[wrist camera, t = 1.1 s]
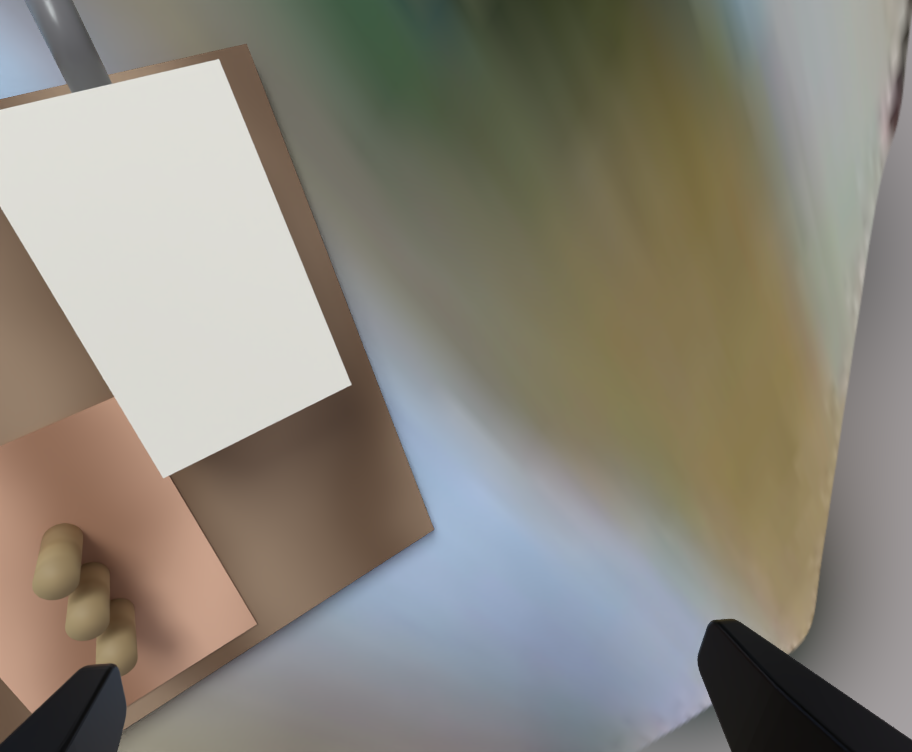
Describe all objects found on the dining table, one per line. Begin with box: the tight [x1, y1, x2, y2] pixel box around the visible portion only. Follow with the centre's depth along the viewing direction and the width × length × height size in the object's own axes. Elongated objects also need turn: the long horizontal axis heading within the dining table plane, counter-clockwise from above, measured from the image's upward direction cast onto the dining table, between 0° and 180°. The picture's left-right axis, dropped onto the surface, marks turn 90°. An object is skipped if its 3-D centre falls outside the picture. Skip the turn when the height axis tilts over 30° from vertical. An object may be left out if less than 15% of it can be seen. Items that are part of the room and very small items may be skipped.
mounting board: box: [0, 44, 434, 743], centre depth 16 cm, size 15×18×3 cm
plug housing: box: [0, 0, 352, 478], centre depth 14 cm, size 5×11×4 cm, turn 20°
